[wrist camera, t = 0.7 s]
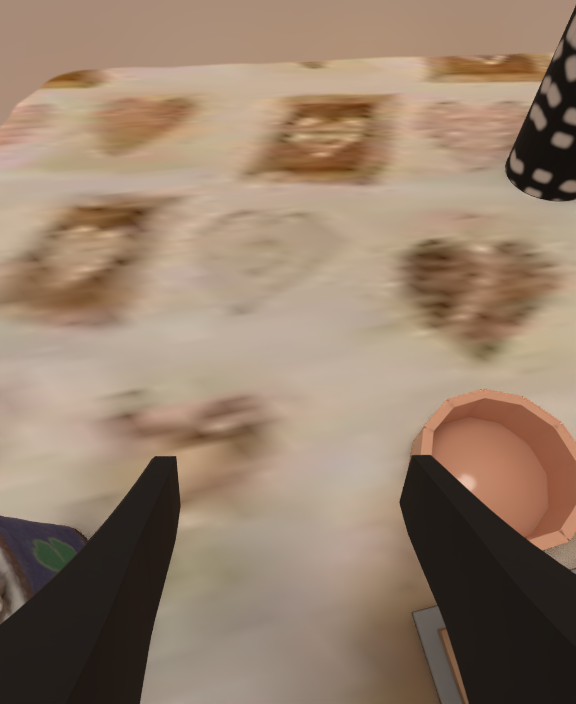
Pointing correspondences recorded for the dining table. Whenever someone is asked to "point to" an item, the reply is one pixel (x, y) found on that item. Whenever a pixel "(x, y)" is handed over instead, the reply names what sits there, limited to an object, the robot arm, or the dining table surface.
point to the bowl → (508, 461)
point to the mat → (437, 653)
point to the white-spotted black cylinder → (550, 130)
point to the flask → (31, 558)
